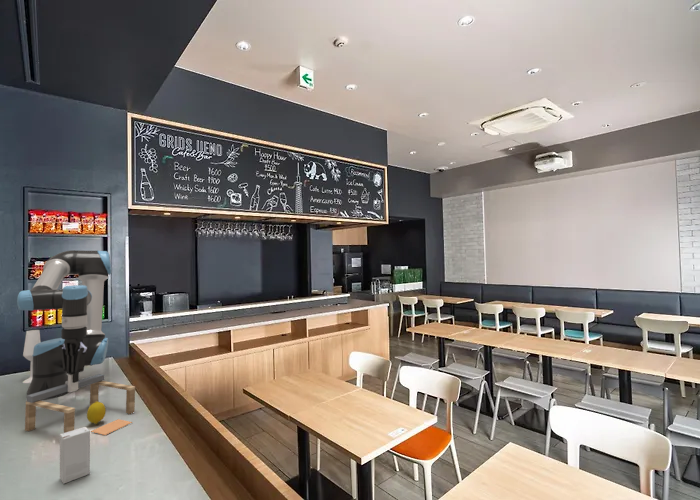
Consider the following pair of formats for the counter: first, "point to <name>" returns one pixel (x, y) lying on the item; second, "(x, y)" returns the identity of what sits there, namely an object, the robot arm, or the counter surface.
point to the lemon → (96, 412)
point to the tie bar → (62, 388)
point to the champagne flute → (30, 349)
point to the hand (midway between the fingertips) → (72, 390)
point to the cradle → (70, 412)
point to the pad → (111, 427)
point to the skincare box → (74, 454)
